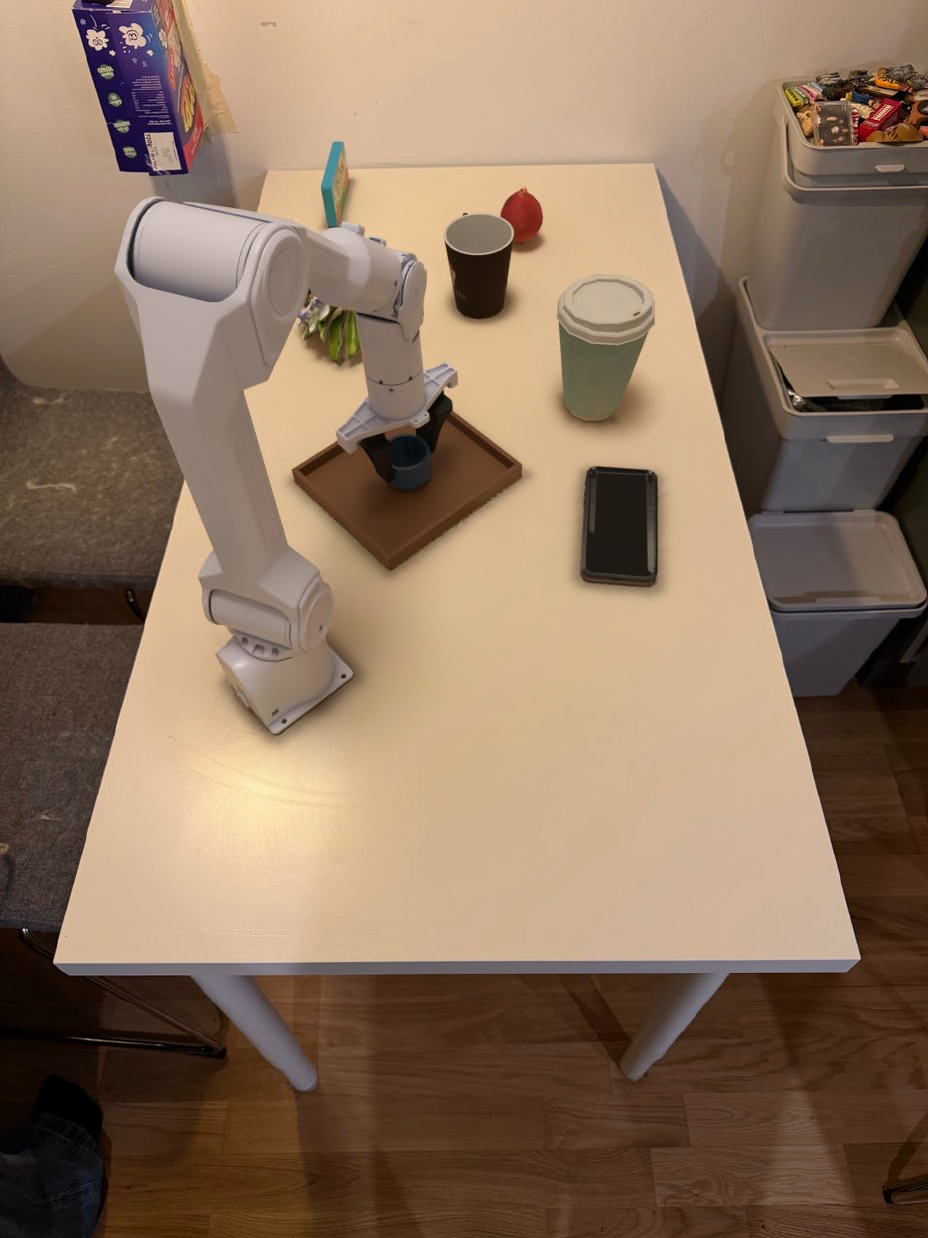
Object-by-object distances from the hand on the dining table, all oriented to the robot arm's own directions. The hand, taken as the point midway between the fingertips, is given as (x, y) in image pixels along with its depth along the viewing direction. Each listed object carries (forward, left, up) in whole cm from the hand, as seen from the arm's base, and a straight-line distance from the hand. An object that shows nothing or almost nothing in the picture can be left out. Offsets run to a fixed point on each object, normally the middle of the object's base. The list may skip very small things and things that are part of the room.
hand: (405, 462), depth 93 cm
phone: (+12, -21, -3) cm, 24 cm away
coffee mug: (+28, +18, -3) cm, 33 cm away
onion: (+40, +23, -3) cm, 46 cm away
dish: (0, 0, -1) cm, 1 cm away
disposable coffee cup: (+24, -6, -3) cm, 25 cm away
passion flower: (+10, +25, -3) cm, 27 cm away
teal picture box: (+27, +49, -3) cm, 56 cm away
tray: (0, 0, -3) cm, 3 cm away
